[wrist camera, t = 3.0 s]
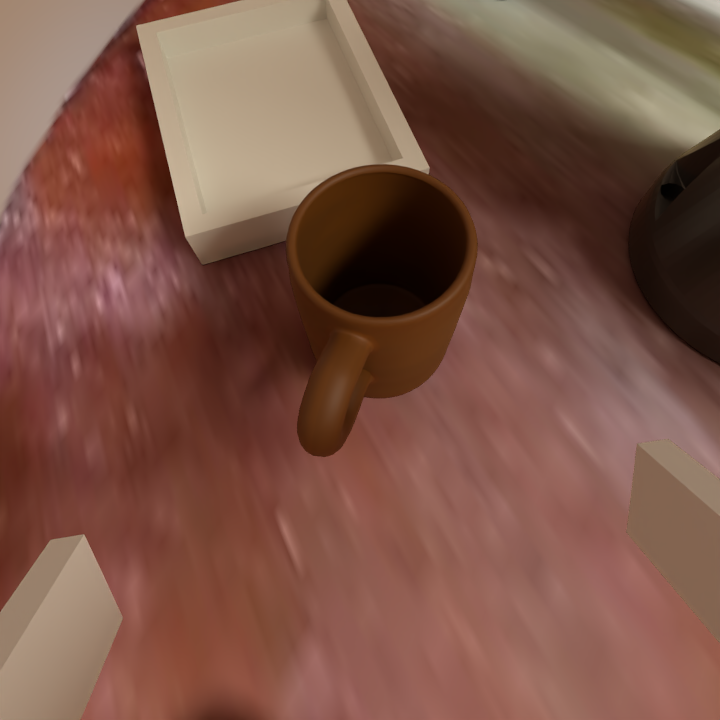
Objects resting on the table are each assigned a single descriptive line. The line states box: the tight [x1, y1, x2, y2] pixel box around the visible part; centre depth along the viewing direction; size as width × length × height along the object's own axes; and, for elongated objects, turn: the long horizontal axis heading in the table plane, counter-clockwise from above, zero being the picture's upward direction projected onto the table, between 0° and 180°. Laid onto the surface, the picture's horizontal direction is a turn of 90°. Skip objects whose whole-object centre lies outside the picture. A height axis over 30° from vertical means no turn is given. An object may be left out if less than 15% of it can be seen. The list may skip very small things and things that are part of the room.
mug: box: [286, 164, 478, 457], centre depth 22 cm, size 12×8×9 cm, turn 162°
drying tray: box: [136, 0, 430, 265], centre depth 31 cm, size 14×18×3 cm
